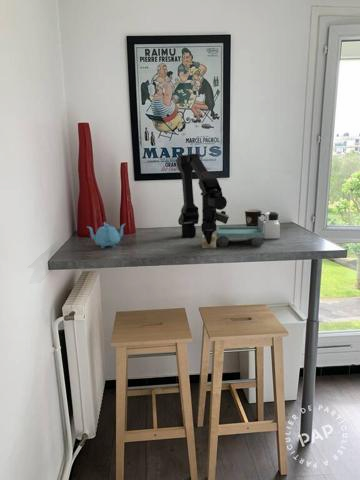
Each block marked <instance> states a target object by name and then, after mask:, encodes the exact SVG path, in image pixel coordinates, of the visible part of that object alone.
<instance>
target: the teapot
mask: <svg viewBox="0 0 360 480" xmlns="http://www.w3.org/2000/svg"><path fill="white" fill-rule="evenodd" d="M125 225H126V223H122V224H121V225H120V229H119V230H120V231H118V230H117V229H116V228H115V227H114V226H112V225H110V224H109V223H107V222H106V221H104V222H103V226H100V227H99V228H98V229H97V231H96V232H95V234H94V230H93V228H92V227H91V226H87V228H88V230H89V232H90V238H91V239H92V240H93V241H94V242H95V244H97V245H98V246H100V249H105V248H106V247H108V246H109V247H110V246H111V248H116V247H117V246H116V245H117V244H119V243H120V241H121V238H122V237H123V236H124V227H125ZM104 247H105V248H104Z"/></svg>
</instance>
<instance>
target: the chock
mask: <svg viewBox="0 0 360 480" xmlns="http://www.w3.org/2000/svg"><path fill="white" fill-rule="evenodd" d="M201 236H202V237H201V239H202V241H201V242H202V244H201V247H202V249H211V248H212V249H217V233H216V234H215V233H214V234H212V238H211V243H210V244H208V243H207V241H206V239H205V236H204V234H202V235H201Z"/></svg>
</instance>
